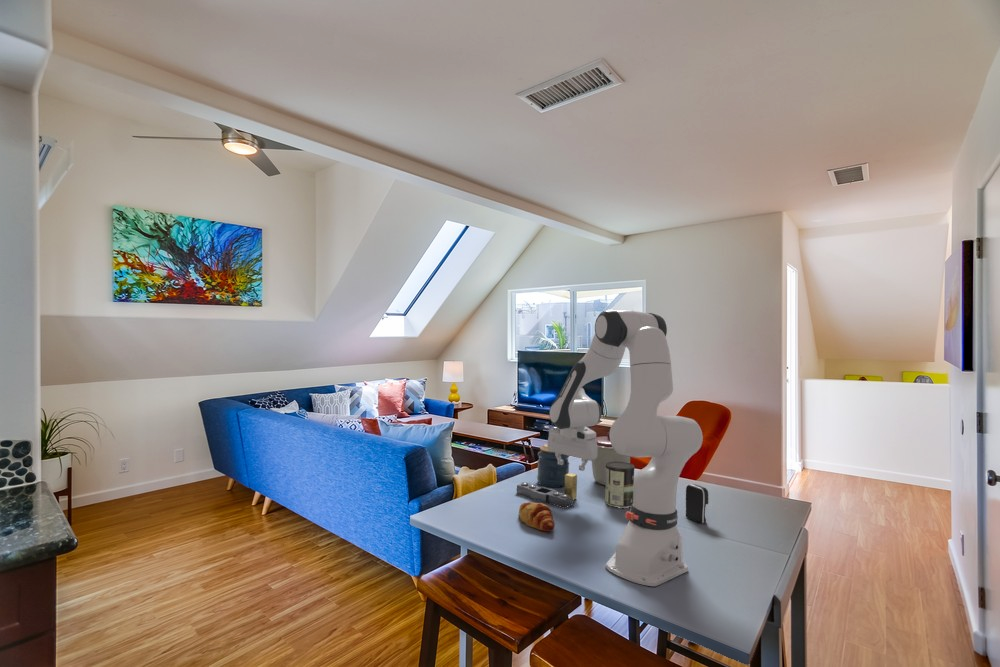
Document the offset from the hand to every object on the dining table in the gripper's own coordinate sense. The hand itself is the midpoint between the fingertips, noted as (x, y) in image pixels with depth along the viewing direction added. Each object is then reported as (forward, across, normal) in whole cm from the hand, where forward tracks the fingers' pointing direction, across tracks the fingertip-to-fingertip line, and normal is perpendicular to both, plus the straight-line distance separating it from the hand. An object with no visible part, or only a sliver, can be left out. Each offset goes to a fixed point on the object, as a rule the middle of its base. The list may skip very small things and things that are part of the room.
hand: (570, 467), depth 177 cm
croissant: (+12, +5, -27) cm, 30 cm away
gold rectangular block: (+12, 0, 0) cm, 12 cm away
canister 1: (+12, -16, +11) cm, 22 cm away
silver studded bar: (+12, -6, -7) cm, 15 cm away
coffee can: (+12, +16, +9) cm, 21 cm away
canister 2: (+12, 0, +29) cm, 31 cm away
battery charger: (+11, +42, +14) cm, 45 cm away
